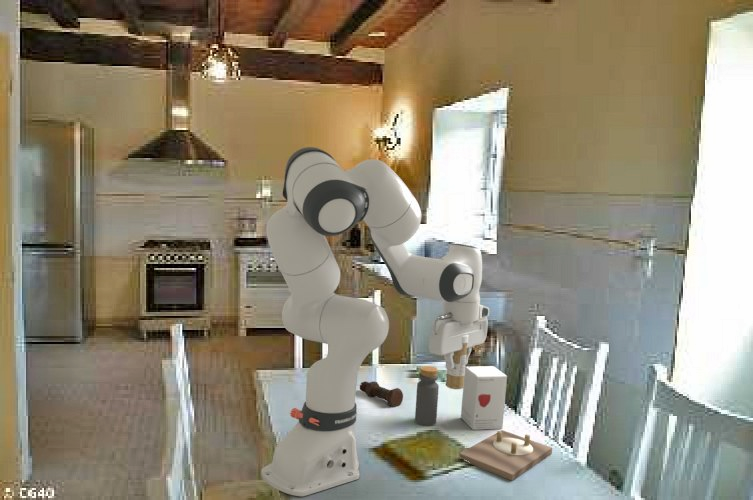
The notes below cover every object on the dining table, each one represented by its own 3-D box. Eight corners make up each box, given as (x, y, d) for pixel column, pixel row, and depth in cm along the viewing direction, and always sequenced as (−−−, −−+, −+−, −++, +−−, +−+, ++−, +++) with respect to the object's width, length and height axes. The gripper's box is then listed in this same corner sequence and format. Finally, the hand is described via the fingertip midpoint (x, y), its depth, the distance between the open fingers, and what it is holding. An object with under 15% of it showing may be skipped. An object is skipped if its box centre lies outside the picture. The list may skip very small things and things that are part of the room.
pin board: (512, 480, 130) (513, 463, 129) (459, 459, 139) (460, 443, 139) (551, 453, 145) (553, 438, 144) (501, 435, 154) (502, 420, 153)
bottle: (435, 427, 157) (438, 372, 155) (413, 424, 158) (416, 370, 157) (437, 419, 163) (440, 366, 161) (416, 416, 164) (419, 364, 162)
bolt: (364, 397, 182) (398, 410, 171) (353, 392, 179) (388, 405, 168) (371, 379, 184) (406, 391, 173) (361, 374, 180) (395, 386, 170)
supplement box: (472, 430, 156) (476, 376, 154) (460, 417, 165) (463, 365, 163) (503, 429, 158) (508, 375, 157) (489, 416, 167) (493, 365, 165)
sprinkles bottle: (441, 385, 144) (445, 332, 142) (453, 382, 147) (457, 330, 145) (456, 391, 140) (460, 336, 139) (467, 387, 144) (472, 334, 142)
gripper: (446, 318, 132) (442, 378, 133) (493, 308, 147) (489, 362, 148) (424, 313, 136) (420, 371, 137) (472, 304, 151) (468, 356, 153)
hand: (456, 366), depth 143 cm, fingers closed on sprinkles bottle, 4 cm apart
